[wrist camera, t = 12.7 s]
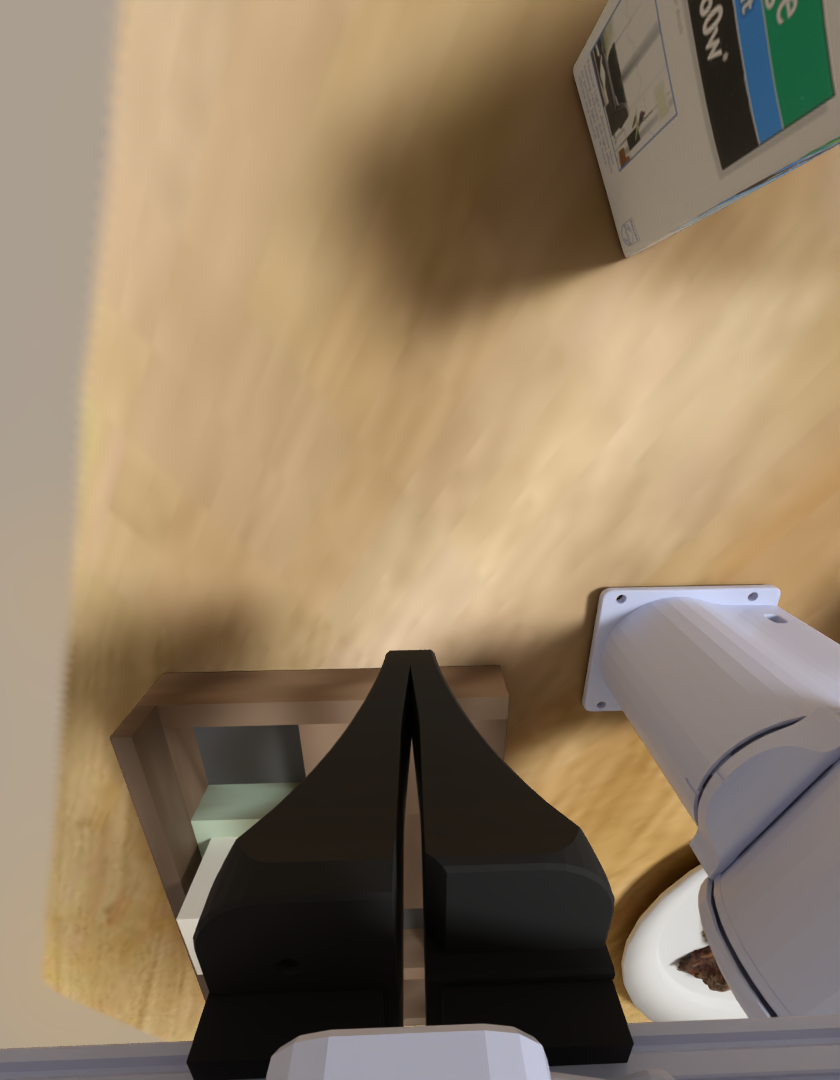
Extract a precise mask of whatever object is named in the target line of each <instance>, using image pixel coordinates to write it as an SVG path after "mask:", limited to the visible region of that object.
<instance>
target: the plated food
mask: <svg viewBox="0 0 840 1080" xmlns="http://www.w3.org/2000/svg"><path fill="white" fill-rule="evenodd" d="M707 877H708V875H707V873H706V872H705V870H704V868H703V867H702V865H701V864H700V865H699V866H697V867H695V868H694V869H692V870H690V871H689V872H688V873H686V874H685V875H684V876H683V877H681V878H680V879H679V880H678V881H676V882H675V883H674V884H673V885H671V886H670V887H669V888H667V889H666V890H665V891H664V892H662V893H661V894H660V895H659V896H658V897H657V899H656V900H655V901H654V902H653V903H652V904H651V905H650V906H649V907H648V909H647V910H646V911H645V912H644V913H643V914H642V915H641V916H640V917H639V919H638V921H637V923H636V924H635V926H634V928H633V930H632V931H631V933H630V935H629V937H628V938H627V940H626V944H625V948H624V952H623V956H622V960H621V967H622V976H623V983H624V986H625V988H626V990H627V992H628V994H629V996H630V998H631V1000H632V1002H633V1004H634V1005H635V1006H636V1007H637V1008H638V1009H639V1010H640V1011H641V1012H642V1013H643V1014H644V1015H645V1016H646V1017H647V1018H648V1019H650V1020H651V1021H653V1022H669V1021H693V1020H717V1019H742V1018H748V1017H747V1015H746V1014H745V1012H744V1011H743V1009H742V1008H741V1006H740V1005H739V1003H738V1001H737V1000H736V998H735V996H734V995H733V993H732V991H731V990H730V988H729V986H728V984H727V982H726V980H725V979H724V977H723V975H722V973H721V971H720V968H719V966H718V964H717V962H716V960H715V957H714V955H713V953H712V950H711V948H710V946H709V944H708V941H707V938H706V935H705V932H704V929H703V926H702V923H701V919H700V914H699V909H698V894H699V890H700V886H701V884H702V883H703V881H704V880H705V879H706V878H707Z"/></svg>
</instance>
